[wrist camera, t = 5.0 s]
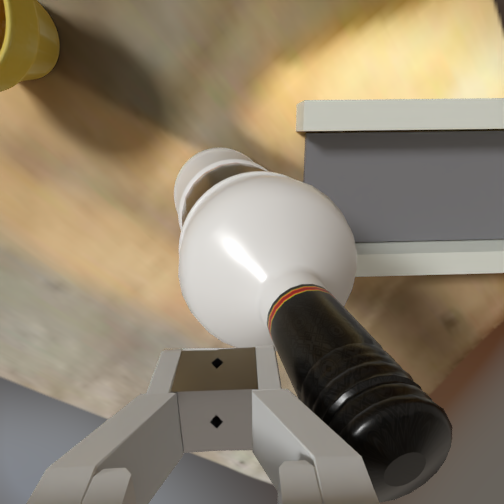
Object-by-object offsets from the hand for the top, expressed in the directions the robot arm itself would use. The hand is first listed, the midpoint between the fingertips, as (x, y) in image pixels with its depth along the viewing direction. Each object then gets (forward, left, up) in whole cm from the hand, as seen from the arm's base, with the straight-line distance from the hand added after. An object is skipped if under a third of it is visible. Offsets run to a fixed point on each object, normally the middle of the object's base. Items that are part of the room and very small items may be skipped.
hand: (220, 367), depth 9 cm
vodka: (0, -2, -27) cm, 27 cm away
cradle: (0, +22, -27) cm, 35 cm away
